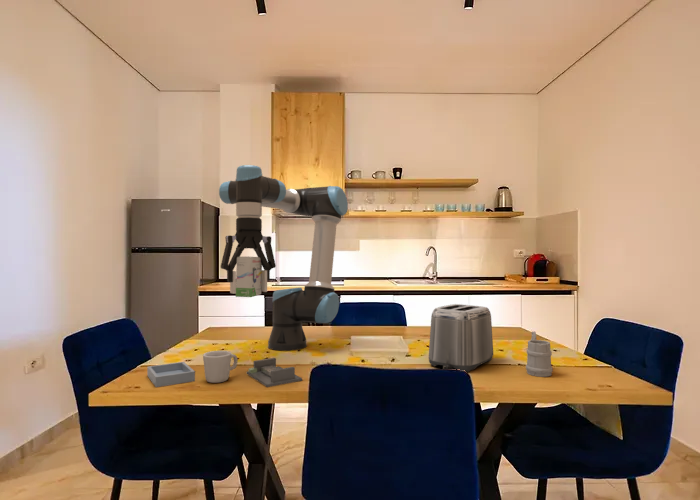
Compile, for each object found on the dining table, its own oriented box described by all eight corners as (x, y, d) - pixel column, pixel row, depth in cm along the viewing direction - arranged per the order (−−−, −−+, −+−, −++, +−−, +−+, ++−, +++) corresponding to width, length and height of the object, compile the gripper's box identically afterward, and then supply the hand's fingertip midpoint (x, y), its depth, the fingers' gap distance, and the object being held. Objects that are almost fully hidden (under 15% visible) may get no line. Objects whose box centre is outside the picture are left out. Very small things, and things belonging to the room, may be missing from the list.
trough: (183, 370, 139) (183, 361, 139) (194, 381, 128) (194, 371, 128) (147, 375, 134) (147, 366, 134) (155, 387, 122) (155, 377, 122)
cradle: (279, 368, 142) (279, 356, 142) (302, 380, 128) (302, 367, 128) (246, 373, 136) (246, 361, 136) (267, 387, 122) (267, 373, 122)
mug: (529, 376, 132) (529, 337, 132) (519, 366, 144) (519, 330, 144) (556, 377, 131) (556, 337, 131) (544, 367, 143) (544, 330, 143)
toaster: (501, 359, 154) (501, 305, 154) (463, 378, 131) (463, 314, 131) (457, 352, 164) (456, 301, 165) (415, 368, 142) (414, 309, 142)
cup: (228, 373, 136) (228, 347, 136) (244, 378, 131) (244, 351, 131) (197, 381, 128) (197, 353, 128) (213, 386, 123) (213, 358, 123)
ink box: (246, 294, 136) (246, 256, 136) (262, 294, 135) (262, 256, 136) (234, 297, 128) (234, 256, 128) (251, 297, 127) (251, 256, 127)
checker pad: (272, 369, 137) (272, 365, 137) (286, 376, 129) (286, 372, 129) (260, 371, 135) (260, 367, 135) (274, 378, 127) (274, 374, 127)
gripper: (276, 219, 141) (276, 289, 141) (208, 216, 128) (208, 293, 128) (287, 218, 135) (287, 291, 135) (217, 215, 122) (217, 295, 122)
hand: (248, 292), depth 132 cm, fingers closed on ink box, 9 cm apart
